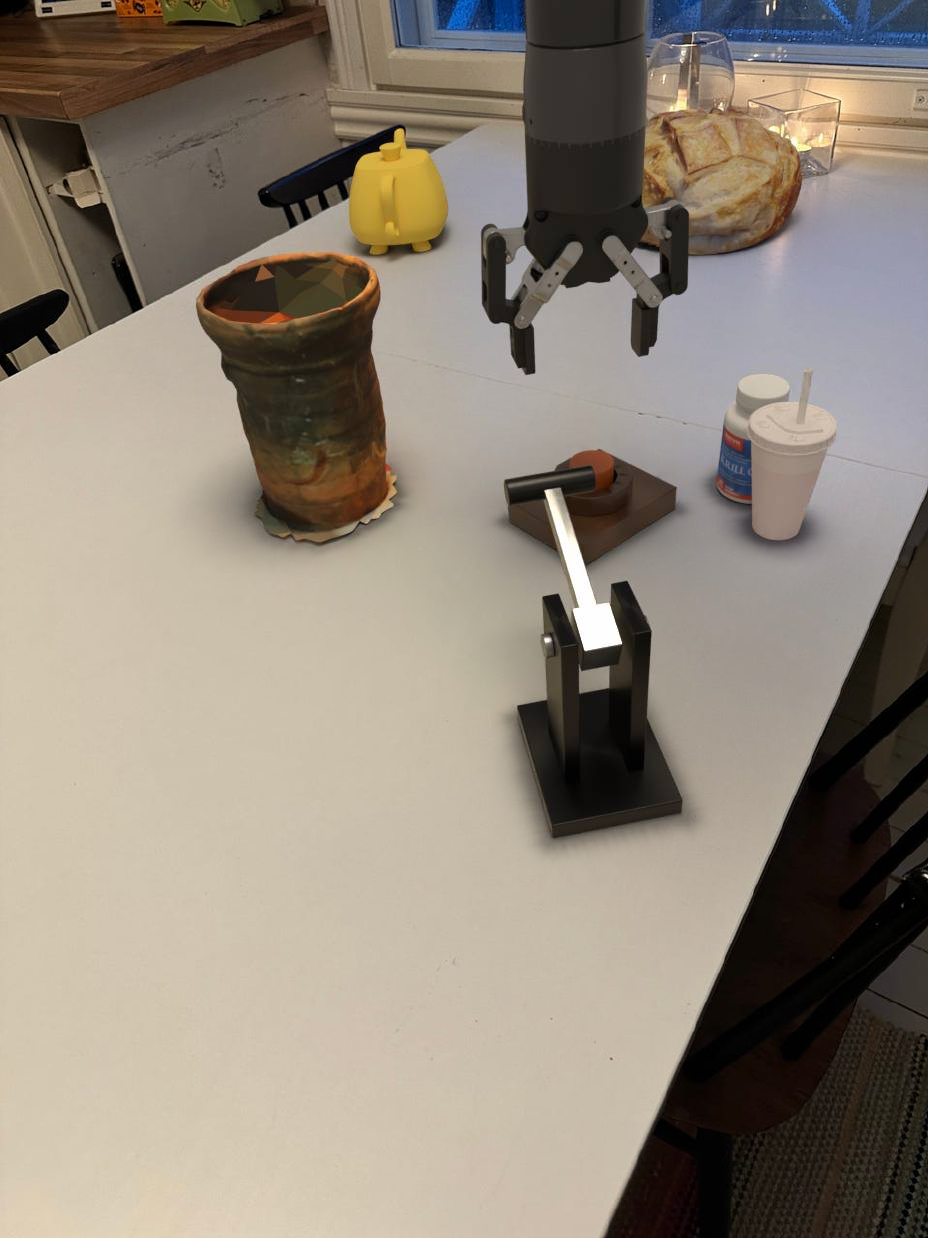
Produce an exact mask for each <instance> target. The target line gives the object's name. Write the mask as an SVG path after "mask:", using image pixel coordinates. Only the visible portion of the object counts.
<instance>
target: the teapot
mask: <svg viewBox="0 0 928 1238" xmlns="http://www.w3.org/2000/svg"><path fill="white" fill-rule="evenodd" d="M379 150H380V151H374V152H371V153H366V154H363V155H362V156H361V157H360V158H359V160H358V161H357V163H356V164H355V168H354V171H353V176H352V180H351V184H350V191H349V200H348V220H349V227H350V228H349V229H350V231H351V232H352V233H353V235H354V236H355V238H356V239H357V240H358V241H359V242H360V243H361V244H364V245H370V249H369V254H370V255H374V256H375V255H382V254H385V253H387V252H388V250H389V246H397V245H407V244H411V246H412V250H413V251H415V252H417V253H418V252H420V253H421V252H427V251H429V250H432V245H431V243H430V240H432V239H435V238H437V237H438V236H439V235H440V234H441V232H442V231H443V229H444V227H445V224H446V221H447V219H448V216H449V202H448V197H447V193H446V188H445V184H444V182H443V179H442V176H441V174H440V172H439V170H438V168H437V166H436V164H435V162H434V160H433V158H432V156H431V155H430V153H429V152H428V151H427V150H426V149H422V148H407V144H406V134H405V130H404V128H397V129H396V130H394V134H393V142H386V143H383V144H381V145H380V146H379Z"/></svg>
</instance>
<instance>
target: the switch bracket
mask: <svg viewBox="0 0 928 1238" xmlns="http://www.w3.org/2000/svg"><path fill="white" fill-rule="evenodd" d="M541 603H542V621H543V622H542V625H543V627H542V628H543V633H540V647H541V651H542V654H543V657H544V667H545V690H546V699H543V700H538V701H532V702H528V703H521V704H519V705H516V711H517V713H516V714H517V719H518V722H519V723H518V724H519V727H520V729H521V734H522V737H523V741H524V744H525V747H526V751H527V754H528V758H529V761H530V764H531V768H532V772H533V775H534V778H535V782H536V785H537V788H538V792H539V795H540V799H541V803H542V806H543V810H544V814H545V817H546V820H547V824H548V827H549V829H550V834H551V837H552V838H557V837H563V836H568V835H573V834H577V833H582V832H588V831H592V830H593V831H594V830H599V829H602V828H608V827H613V826H614V827H615V826H619V825H623V824H629V823H632V822H638V821H639V822H640V821H643V820H649V819H653V818H659V817H664V816H669V815H673V814H678V813H682V811H683V801H684V800H683V798H682V795H681V792H680V791H679V788H678V786H677V783H676V782H675V778H674V777H673V774H672V772H671V769H670V767H669V765H668V763H667V760H666V758H665V756H664V754H663V751H662V749H661V747H660V744H659V742H658V740H657V738H656V737H657V736H656V735H655V733H654V731H653V729H652V726H651V723H650V721H649V718H648V706H649V705H648V703H649V702H648V701H649V686H650V669H651V651H652V636H653V633H652V632H653V631H652V629H651V625H650V621H649V619H648V617H647V615H645V613H644V612H643V609H642V607H641V606H640V603H639V601H638V600H637V597H636V595H635V593H634V591H633V589H632V587H631V585H630V582H629V581H628V580H623V581H617V582H612V583H610V604H611V607H612V611H613V614H614V617H615V620H616V623H617V626H618V629H619V633H620V636H621V639H622V642H623V646H622V651H621V655H620V659H619V664H617V665H612V666H608V667H609V673H608V675H609V676H608V687H607V688H606V687H605V688H602V689H597V690H591V691H584V692H580V666H579V644H578V642H577V639H576V636H575V634H574V631H573V629H572V626H571V623H570V618H569V616H568V614H567V611H566V608H565V605H564V603H563V600H562V598H561V595H560V594H559V593H557V592H556V593H553V594H546V595H543V596H542V597H541Z"/></svg>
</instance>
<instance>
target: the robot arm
mask: <svg viewBox="0 0 928 1238" xmlns="http://www.w3.org/2000/svg"><path fill="white" fill-rule="evenodd" d="M647 1H648V0H524V22H525V23H524V26H525V27H524V29H525V54H524V64H523V66H524V67H523V80H522V92H523V93H522V94H523V95H522V96H523V97H522V98H523V101H522V106H521V113H522V114H521V117H522V121H523V126H524V151H525V180H526V203H527V211H526V216H525V219H524V222H523V224H522V225H521V226H519V227H508V228H507V227H505V228H498V226H496V224H494V223H486V224H485V225H484V226H483V227H482V228H481V231H480V258H481V259H480V267H481V268H480V269H481V271H480V272H481V275H480V277H481V305H482V307H483V310H484V312H485V314H486V316H487V318H488V320H489V322H490V323H492V324H494V325H499V324H501V323H503V324H507V325H509V345H510V346H509V347H510V355H511V358H512V359H513V361H514V364H515V365H516V368H517V369H521V370H522V372H523V373H524V376H529V375H535V374H536V348H535V327H534V325H533V323H532V322H533V320H534V319H535V318H536V316H537V315H538V313H539V311H540V310H541V308H542V307H543V306H544V305H545V304H547V303H549V301H550V300H551V299H552V297H553V296H554V294H556V293H555V292H556V291H557V290H558V288H559V287H560V286H564V288H566V289H571V288H573V289H574V288H577V287H580V286H583V285H584V284H587V283H593V284H604V283H610V282H611V279H612V278H613V277H615V276H617V274H619V272H620V274H621V275H622V276H623V277H624V279H625V280H626V281H627V282H628V284H629V285H630V286H631V287H632V288H633V289H634V291H635V292H636V297H633V298H631V318H630V321H631V322H630V346H631V349H632V351H633V352H634V354H635V355H636V356H637V357H638V358H640V357H646V356H649V354H650V348H654V347H655V345H656V343H657V341H658V327H659V311H660V306H661V303H662V302H663V301H664V300H666V299H667V298H669V297H671V296H673V295H675V296H681V295H682V294H684V293H686V291H687V290H688V287H689V254H688V248H689V212H688V210H687V209H685V208H684V206H683V205H682V204H680V203H679V202H678V201H677V200H675V199H674V198H673V197H666V198H665V199H663V200H662V202H661V203H660V205H657V206H652V207H647V208H644V207H643V204H642V194H643V177H644V154H645V131H646V126H647V107H648V86H649V85H648V84H649V83H648V81H649V80H648V76H649V75H648V74H649V73H648V60H647V59H648V58H647V50H646V49H647V47H646V46H647V44H646V27H647ZM648 226H651V227H652V231H653V233H654V234H655V235H656V236H657V237H658V238H659V239H660V247H659V273H658V274H655V275H653V276H652V277H649V275H648V274H647V273H646V272H645V270H644V268H642V266H640V263H639V262H637V260H636V258H635V257H634V256H633V251H634V250H635V249H636V248H637V246H638V244H639V243H640V242H639V241H640V240H641V238H642V237H643V235H644V234H645V232H646V230H647V227H648ZM521 247H525V248H526V250H527V251H528V253H529V254H531V256H532V257H533V258H532V260H531V261H530V263H529V264H528V266H527V268H526V269H525V271H524V272H523V274H522V276H521V280H520V281H521V282H520V283H519V285H518V287H517V289H516V291H515V292H514V294H513V295H512V297H511V298H510V299H509V298H507V265H511V263H513V262H514V260H515V259H516V254H517V251H518V250H519V249H520V248H521Z"/></svg>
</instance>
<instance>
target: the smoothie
mask: <svg viewBox="0 0 928 1238" xmlns="http://www.w3.org/2000/svg"><path fill="white" fill-rule="evenodd" d="M813 372H814V370H813V369H812V368H805V369H804V373H803V379H802V384H801V385H802V386H801V391H800V395H799V401H788V402H778V403H772V404H769V405H765V406H763V407H761V408H759V409H757V410H756V411H755V412H753V414H752V415H751V416H750V419H749V425H748V428H747V434H748V437H749V439H750V440H751V461H752V504H751V515H752V516H751V525H752V526H751V527H752V529H753V531H754V532H755V534H757V535H758V536H759V537H762V538H764V539H765V540H769V541H770V540H771V541H786V540H791V539H792V538H794V537H797V535H798V534H799V532H800V530H801V526H802V524H803V521H804V518H805V516H806V512H807V510H808V508H809V504H810V502H811V498H812V495H813V493H814V489H815V487H816V484H817V481H818V478H819V475H820V472H821V470H822V467H823V464H824V462H825V458H826V456H827V454H828V453H827V452H828V449H829V448H830V447H832V445H833V444H834V443H835V441H836V439H837V431H838V422H837V419H836V418H835V417H834V415H832V413H830V412H829V411H827V410H826V409H824V408H822V407H820V406H817V405H814V404H810V403H808V401H809V397H810V392H811V391H810V390H811V385H812V378H813Z"/></svg>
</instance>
